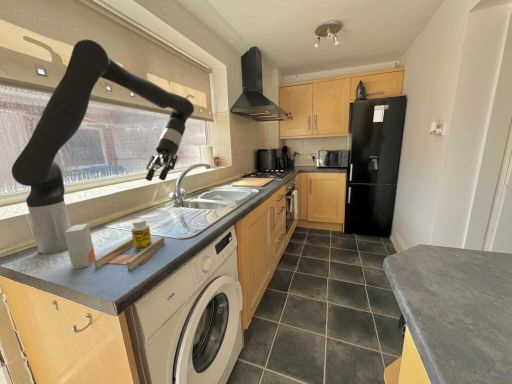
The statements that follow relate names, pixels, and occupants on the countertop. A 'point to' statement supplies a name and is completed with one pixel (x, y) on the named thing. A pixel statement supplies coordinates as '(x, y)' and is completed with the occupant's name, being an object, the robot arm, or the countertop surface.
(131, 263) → the guide channel
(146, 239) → the supplement bottle
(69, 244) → the skincare box
